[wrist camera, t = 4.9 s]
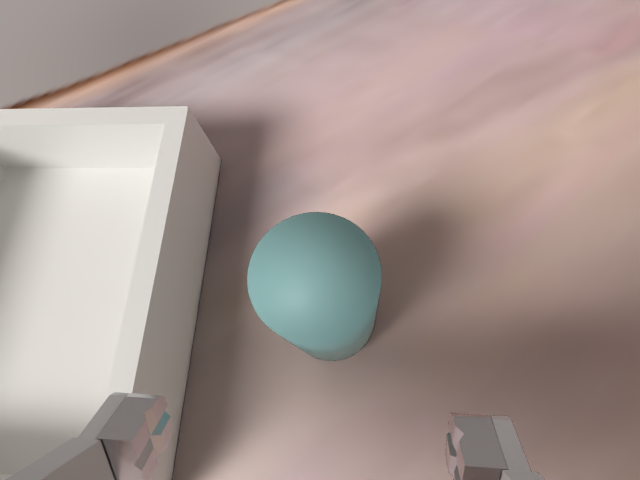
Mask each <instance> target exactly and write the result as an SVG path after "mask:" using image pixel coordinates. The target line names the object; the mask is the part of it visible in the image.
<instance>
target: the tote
mask: <svg viewBox="0 0 640 480" xmlns="http://www.w3.org/2000/svg"><path fill="white" fill-rule="evenodd" d="M220 166H221V159H220V157H219V155H218V154H217V152H216V150H215V149H214V147H213V146H212V144H211V142H210V141H209V139H208V137H207V136H206V134H205V133H204V131H203V129H202V128H201V126H200V124H199V123H198V121H197V119H196V118H195V116H194V115H193V113H192V111H191V110H190V108H189V106H168V107H107V108H46V109H0V480H5V479H7V478H9V477H10V476H12V475H13V474H15V473H17V472H18V471H20V470H21V469H23V468H25V467H26V466H28V465H29V464H31V463H33V462H34V461H36V460H38V459H39V458H41V457H42V456H44V455H46V454H47V453H49V452H50V451H52V450H54V449H55V448H57V447H58V446H60V445H62V444H63V443H65V442H66V441H68V440H70V439H71V438H78V436H79V435H80V434H81V432H82V431H83V430H84V428H85V427H86V426H87V424H88V423H89V422H90V420H91V419H92V418H93V416H94V415H95V414H96V412H97V411H98V410H99V408H100V407H101V406H102V404H103V403H104V402H105V400H106V399H107V398H108V396H109V395H111V394H112V393H114V392H122V393H136V394H147V395H159V396H164V397H166V401H167V404H168V406H167V408H166V409H165V412H167V413H168V414H169V415H170V416H171V420H172V433H171V437H170V441H169V444H168V446H167V448H166V450H165V451H164V452H163V453H161V454H160V455H159V456H157V457H156V458H157V463H158V466H157V468H156V470H155V472H154V474H153V476H152V478H151V480H172V474H173V467H174V461H175V455H176V448H177V442H178V435H179V429H180V422H181V416H182V410H183V403H184V397H185V390H186V384H187V378H188V371H189V365H190V358H191V352H192V345H193V339H194V333H195V326H196V320H197V313H198V307H199V300H200V294H201V288H202V281H203V275H204V268H205V262H206V256H207V249H208V243H209V236H210V230H211V223H212V217H213V211H214V204H215V198H216V191H217V185H218V178H219V172H220Z"/></svg>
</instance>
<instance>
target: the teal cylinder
mask: <svg viewBox="0 0 640 480" xmlns="http://www.w3.org/2000/svg"><path fill="white" fill-rule="evenodd" d="M381 280H382V271H381V264H380V259H379V256H378V253H377V251H376V249H375V247H374V245H373V243H372V241H371V240H370V239H369V237H368V236H367V235H366V234H365V233H364V231H363V230H361V229H360V228H359V227H358V226H357V225H355V224H354V223H352V222H351V221H349V220H347V219H345V218H343V217H340V216H337V215H334V214H330V213H323V212H309V213H303V214H299V215H295V216H292V217H290V218H288V219H285V220H284V221H282V222H280V223H278V224H277V225H276V226H274V227H273V228H272V229H270V230H269V231H268V232H267V233H266V234H265V235H264V237H263V238H262V239H261V240H260V242H259V243H258V245H257V246H256V248H255V250H254V252H253V254H252V256H251V259H250V263H249V267H248V272H247V286H248V293H249V297H250V300H251V303H252V306H253V308H254V309H255V311H256V313H257V315H258V316H259V317H260V319H261V320H262V321H263V322H264V323H265V324H266V325H267V326H268V327H269V328H270V329H271V330H273V331H274V332H275V333H277V334H278V335H280V336H281V337H283V338H284V339H286V340H287V341H289V342H290V343H292V344H293V345H295V346H297V347H298V348H300V349H301V350H303V351H304V352H306V353H307V354H309V355H311V356H312V357H315V358H317V359H321V360H326V361H336V360H342V359H345V358H348V357H350V356H352V355H354V354H355V353H357V352H358V351H359V350H360V349H362V347H363V346H364V345H365V344H366V343H367V341H368V340H369V338H370V336H371V334H372V331H373V328H374V323H375V317H376V312H377V306H378V300H379V294H380V289H381Z"/></svg>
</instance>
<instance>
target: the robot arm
mask: <svg viewBox="0 0 640 480" xmlns="http://www.w3.org/2000/svg"><path fill="white" fill-rule="evenodd" d="M167 406H168V404H167V401H166V397H164V396H159V395H147V394H136V393H122V392H114V393H112V394H111V395H109V396H108V398H107V399H106V400H105V402H104V403H103V404H102V406H101V407H100V408H99V410H98V411H97V412H96V414H95V415H94V416H93V418H92V419H91V420H90V422H89V423H88V424H87V426H86V427H85V428H84V430H83V431H82V432H81V434H80V435H79V436H78V438H71V439H70V440H68V441H66V442H65V443H63V444H62V445H60V446H58V447H57V448H55V449H54V450H52V451H50V452H49V453H47V454H46V455H44V456H42V457H41V458H39V459H38V460H36V461H34V462H33V463H31V464H29V465H28V466H26V467H25V468H23V469H21V470H20V471H18V472H17V473H15V474H13V475H12V476H10V477H9V478H7V479H5V480H151V478H152V476H153V474H154V472H155V470H156V468H157V466H158V463H157V458H156V457H157V456H159V455H160V454H161V453H163V452H164V451H165V450H166V448H167V446H168V444H169V441H170V437H171V433H172V420H171V416H170V415H169V414H168V413H167V412H165V409H166V408H167ZM448 424H449V429H450V432H449V433H448V434H447V436H446V461H447V467H448V472H449V474H450V475H451V476H452V477H453V480H545V479H544V478H543V477H542V476H541V475H540V474H539V473H538V472H532V471H531V469H530V466H529V463H528V461H527V458H526V456H525V453H524V451H523V448H522V446H521V443H520V440H519V438H518V435H517V433H516V430H515V428H514V425H513V423H512V420H511V419H510V418H509V416H496V415H489V416H488V415H480V414H460V413H451V414H450V416H449V422H448Z"/></svg>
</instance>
